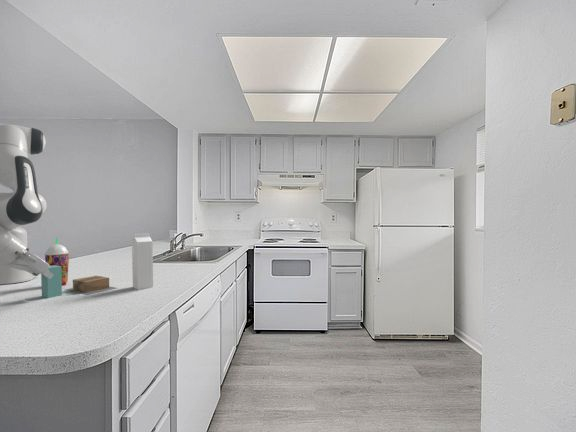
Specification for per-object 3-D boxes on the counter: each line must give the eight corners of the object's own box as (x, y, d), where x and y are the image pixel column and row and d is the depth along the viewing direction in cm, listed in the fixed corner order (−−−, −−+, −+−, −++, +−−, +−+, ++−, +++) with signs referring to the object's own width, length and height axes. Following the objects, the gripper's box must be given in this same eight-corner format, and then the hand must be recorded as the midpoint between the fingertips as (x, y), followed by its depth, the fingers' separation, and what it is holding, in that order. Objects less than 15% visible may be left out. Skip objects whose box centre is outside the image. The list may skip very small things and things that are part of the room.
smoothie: (49, 289, 132) (48, 239, 132) (42, 286, 137) (41, 237, 137) (73, 285, 139) (72, 237, 138) (65, 282, 144) (64, 236, 143)
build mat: (64, 290, 130) (64, 289, 130) (94, 284, 140) (94, 283, 140) (87, 296, 122) (87, 294, 122) (118, 289, 132) (118, 288, 132)
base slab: (73, 289, 129) (72, 279, 129) (96, 285, 137) (96, 275, 137) (86, 292, 125) (85, 282, 125) (109, 287, 133) (109, 277, 133)
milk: (153, 288, 134) (152, 233, 133) (137, 290, 130) (137, 234, 129) (147, 285, 138) (147, 232, 138) (132, 287, 134) (131, 233, 134)
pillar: (41, 297, 120) (41, 267, 120) (55, 294, 124) (54, 265, 124) (48, 299, 118) (47, 268, 118) (61, 296, 122) (61, 266, 121)
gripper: (32, 245, 107) (66, 271, 115) (4, 242, 117) (37, 266, 126) (16, 261, 103) (52, 286, 112) (-12, 256, 113) (23, 280, 122)
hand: (44, 275), depth 119 cm, fingers open, 8 cm apart
